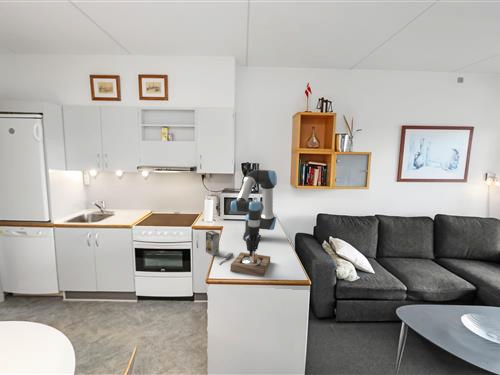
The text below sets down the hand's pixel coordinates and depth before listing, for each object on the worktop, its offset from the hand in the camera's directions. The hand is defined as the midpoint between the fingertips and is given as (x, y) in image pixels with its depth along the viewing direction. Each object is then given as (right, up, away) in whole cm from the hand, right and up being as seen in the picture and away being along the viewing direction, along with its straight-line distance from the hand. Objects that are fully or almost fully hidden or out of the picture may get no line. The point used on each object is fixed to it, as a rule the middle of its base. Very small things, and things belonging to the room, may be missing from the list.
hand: (251, 260), depth 167 cm
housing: (0, -6, +7) cm, 9 cm away
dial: (0, -4, +6) cm, 7 cm away
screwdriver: (-19, -4, +16) cm, 25 cm away
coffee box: (-30, -2, +27) cm, 40 cm away
